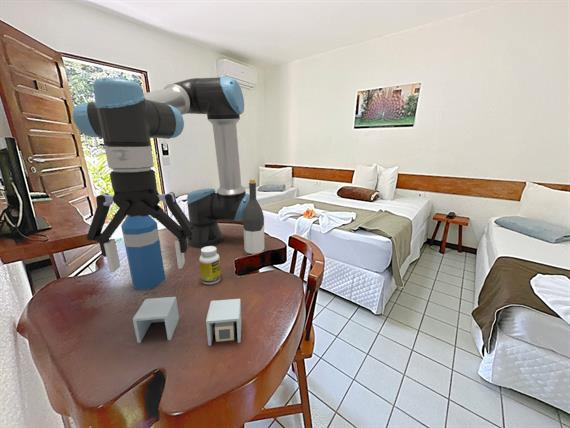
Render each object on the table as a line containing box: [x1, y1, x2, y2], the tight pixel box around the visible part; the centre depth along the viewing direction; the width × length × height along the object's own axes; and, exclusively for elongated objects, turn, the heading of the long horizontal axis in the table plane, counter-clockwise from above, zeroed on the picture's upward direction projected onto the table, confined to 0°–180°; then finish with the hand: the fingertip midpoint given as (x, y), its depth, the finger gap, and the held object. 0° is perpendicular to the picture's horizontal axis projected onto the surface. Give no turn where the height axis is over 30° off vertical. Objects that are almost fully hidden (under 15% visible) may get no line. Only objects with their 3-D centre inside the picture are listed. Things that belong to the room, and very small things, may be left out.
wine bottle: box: [242, 178, 266, 255], centre depth 94 cm, size 8×8×30 cm
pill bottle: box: [199, 245, 222, 285], centre depth 78 cm, size 6×6×11 cm
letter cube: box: [214, 321, 236, 342], centre depth 56 cm, size 4×4×4 cm
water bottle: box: [120, 215, 166, 291], centre depth 74 cm, size 9×9×25 cm
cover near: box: [132, 296, 180, 344], centre depth 57 cm, size 7×7×6 cm
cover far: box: [205, 298, 242, 347], centre depth 57 cm, size 7×7×6 cm
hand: (149, 267), depth 53 cm, fingers open, 13 cm apart
